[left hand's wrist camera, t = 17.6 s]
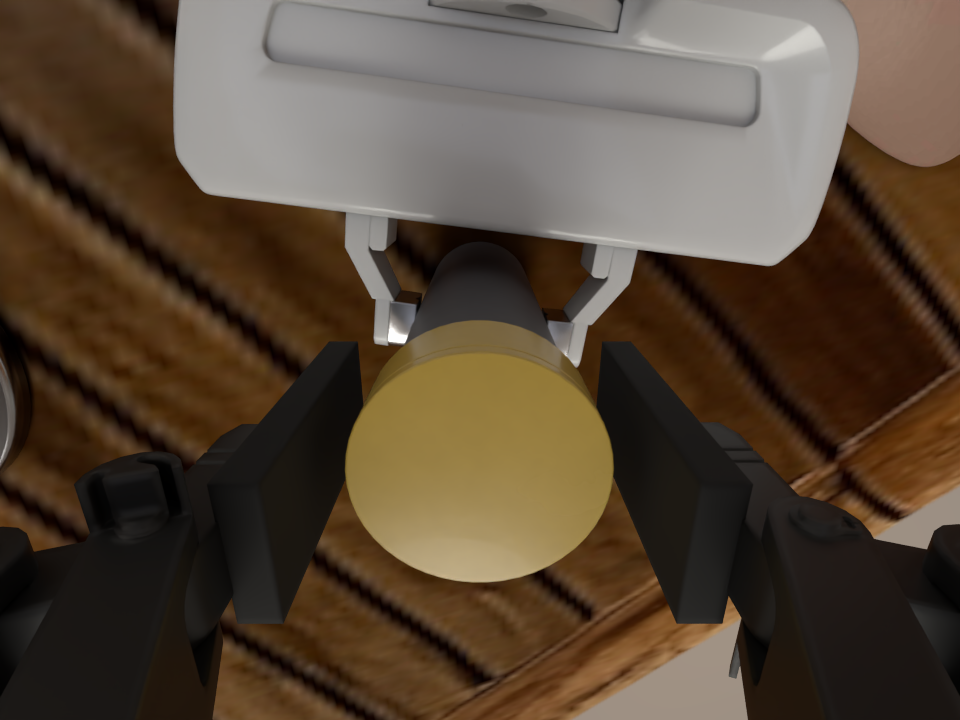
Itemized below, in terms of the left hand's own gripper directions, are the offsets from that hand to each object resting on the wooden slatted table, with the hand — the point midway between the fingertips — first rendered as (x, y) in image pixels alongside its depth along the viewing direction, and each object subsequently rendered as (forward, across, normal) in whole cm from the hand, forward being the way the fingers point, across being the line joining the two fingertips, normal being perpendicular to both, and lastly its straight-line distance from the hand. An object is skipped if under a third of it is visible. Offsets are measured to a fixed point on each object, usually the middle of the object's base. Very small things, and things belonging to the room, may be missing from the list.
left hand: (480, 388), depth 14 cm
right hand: (+5, 0, -1) cm, 6 cm away
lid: (-4, 0, 0) cm, 4 cm away
